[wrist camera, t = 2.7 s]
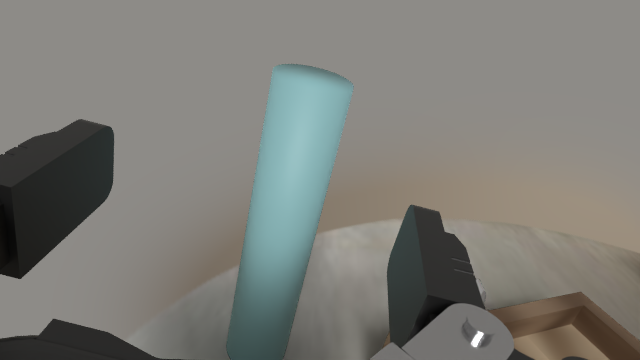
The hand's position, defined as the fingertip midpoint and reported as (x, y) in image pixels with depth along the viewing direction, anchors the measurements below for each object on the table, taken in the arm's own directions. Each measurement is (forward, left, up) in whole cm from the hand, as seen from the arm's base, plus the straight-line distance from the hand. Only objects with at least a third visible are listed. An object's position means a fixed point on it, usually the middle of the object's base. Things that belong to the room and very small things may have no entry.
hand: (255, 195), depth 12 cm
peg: (-6, -10, -19) cm, 22 cm away
